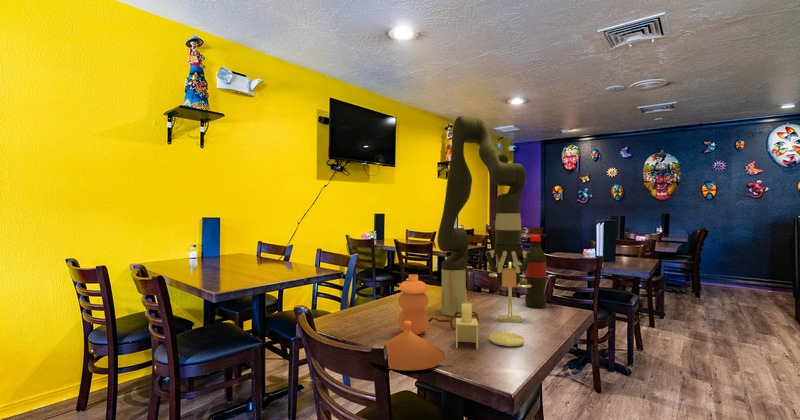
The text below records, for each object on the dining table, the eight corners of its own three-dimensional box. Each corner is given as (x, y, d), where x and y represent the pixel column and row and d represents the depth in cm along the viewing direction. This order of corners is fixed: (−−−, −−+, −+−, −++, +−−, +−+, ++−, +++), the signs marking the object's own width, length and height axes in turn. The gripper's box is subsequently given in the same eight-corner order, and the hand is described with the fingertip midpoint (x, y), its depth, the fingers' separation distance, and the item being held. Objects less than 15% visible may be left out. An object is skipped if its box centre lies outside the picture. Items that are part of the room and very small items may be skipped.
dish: (491, 347, 110) (491, 342, 110) (488, 336, 120) (488, 331, 120) (526, 349, 109) (526, 343, 109) (520, 337, 119) (520, 333, 119)
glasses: (451, 332, 126) (451, 317, 126) (426, 323, 136) (426, 309, 136) (479, 325, 133) (479, 311, 133) (453, 317, 144) (453, 304, 144)
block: (502, 286, 113) (502, 270, 113) (500, 284, 117) (500, 268, 117) (516, 287, 113) (516, 270, 113) (513, 284, 117) (513, 268, 117)
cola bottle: (543, 305, 162) (543, 235, 163) (549, 310, 154) (548, 236, 154) (522, 304, 163) (522, 234, 163) (527, 309, 155) (527, 235, 155)
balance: (489, 321, 137) (489, 254, 137) (488, 317, 142) (488, 252, 143) (532, 323, 135) (532, 255, 135) (529, 319, 140) (529, 253, 141)
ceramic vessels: (446, 372, 93) (446, 295, 93) (361, 368, 95) (362, 293, 96) (445, 329, 128) (445, 273, 128) (383, 327, 130) (384, 272, 130)
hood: (456, 348, 110) (456, 306, 110) (456, 340, 116) (456, 301, 116) (477, 349, 109) (478, 307, 109) (476, 342, 115) (476, 302, 115)
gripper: (485, 228, 112) (485, 286, 112) (535, 229, 111) (535, 288, 110) (483, 228, 120) (483, 282, 120) (529, 228, 118) (529, 283, 118)
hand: (508, 284), depth 115 cm, fingers closed on block, 4 cm apart
